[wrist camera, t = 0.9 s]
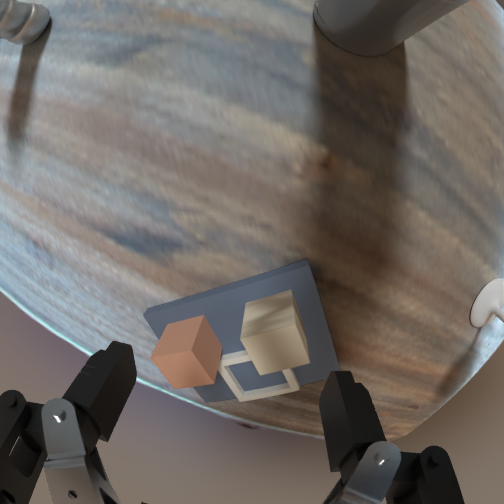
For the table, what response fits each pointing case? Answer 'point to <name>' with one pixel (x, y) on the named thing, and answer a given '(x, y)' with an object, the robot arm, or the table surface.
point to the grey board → (230, 326)
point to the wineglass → (488, 304)
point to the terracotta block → (188, 353)
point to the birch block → (274, 333)
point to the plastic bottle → (22, 21)
